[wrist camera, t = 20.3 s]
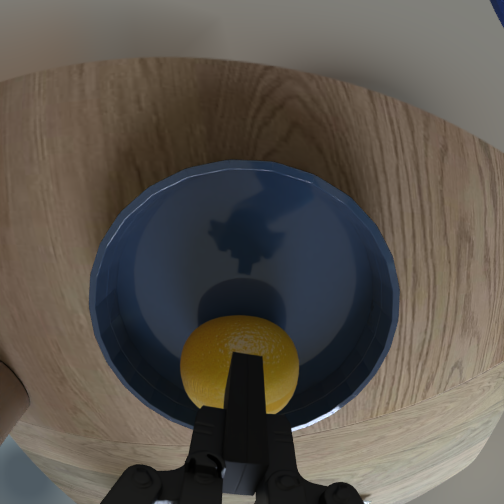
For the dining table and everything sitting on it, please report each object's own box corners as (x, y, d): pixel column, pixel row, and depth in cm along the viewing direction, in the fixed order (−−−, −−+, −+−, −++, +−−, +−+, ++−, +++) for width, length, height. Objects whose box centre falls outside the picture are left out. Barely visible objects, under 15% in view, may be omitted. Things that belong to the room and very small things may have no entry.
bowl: (109, 164, 21) (77, 163, 16) (391, 177, 21) (422, 181, 17) (133, 390, 27) (119, 421, 22) (345, 400, 28) (358, 432, 23)
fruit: (208, 382, 26) (197, 446, 18) (177, 311, 24) (149, 369, 16) (299, 363, 25) (315, 427, 17) (280, 286, 23) (294, 341, 15)
